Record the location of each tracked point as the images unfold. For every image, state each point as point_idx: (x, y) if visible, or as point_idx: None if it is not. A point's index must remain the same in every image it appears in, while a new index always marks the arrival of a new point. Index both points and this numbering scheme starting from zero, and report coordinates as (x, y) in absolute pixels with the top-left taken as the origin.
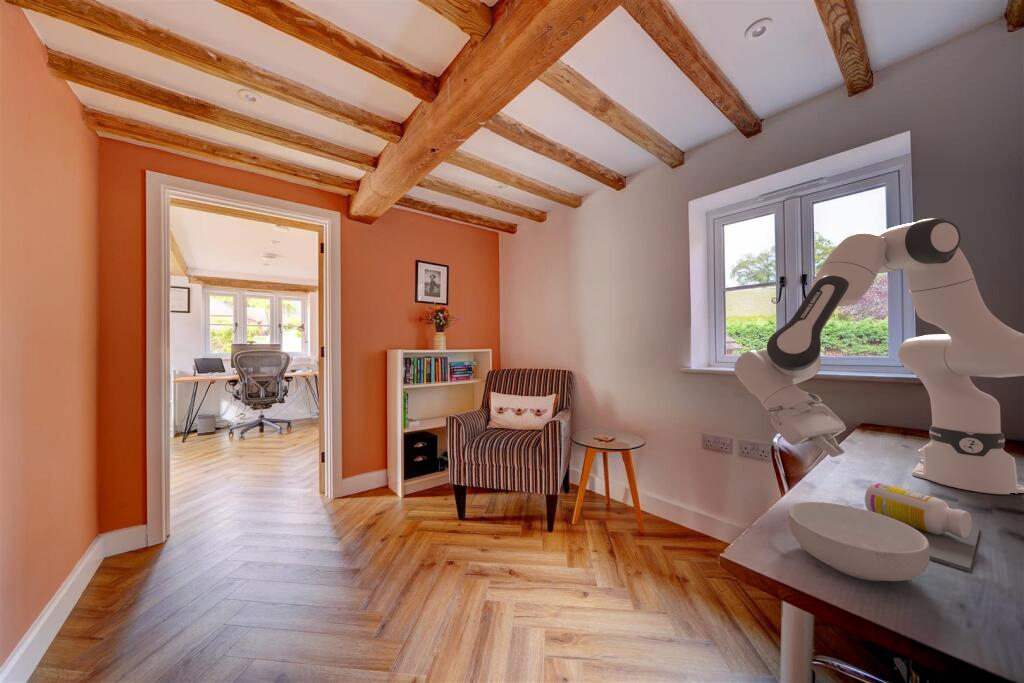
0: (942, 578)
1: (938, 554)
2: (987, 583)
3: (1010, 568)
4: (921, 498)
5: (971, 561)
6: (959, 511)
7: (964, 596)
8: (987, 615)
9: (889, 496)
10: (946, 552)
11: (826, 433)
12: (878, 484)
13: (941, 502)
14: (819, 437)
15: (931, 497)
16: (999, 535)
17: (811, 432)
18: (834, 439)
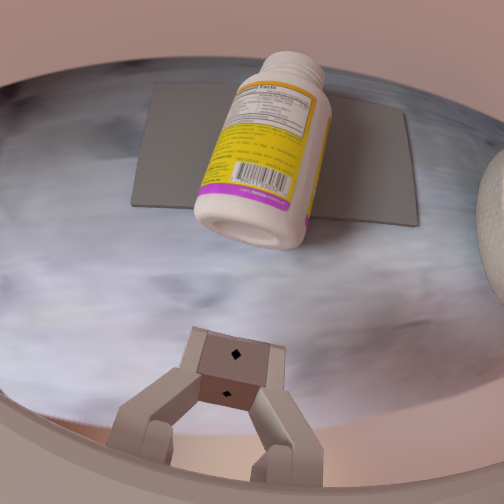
0: (451, 147)
1: (391, 137)
2: (415, 104)
3: (328, 70)
4: (308, 104)
5: (373, 103)
6: (305, 60)
7: (470, 135)
8: (485, 127)
9: (310, 176)
10: (369, 126)
11: (204, 474)
12: (267, 199)
13: (296, 74)
14: (321, 478)
15: (290, 84)
16: (159, 70)
17: (441, 500)
18: (151, 404)
